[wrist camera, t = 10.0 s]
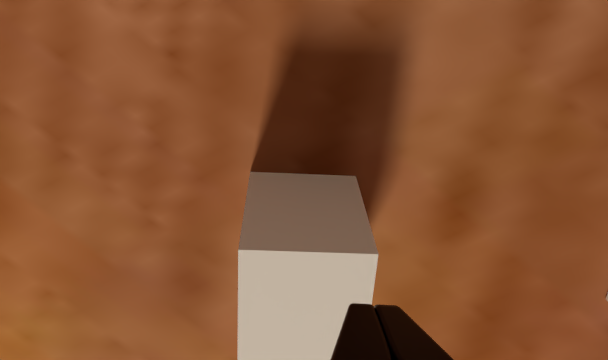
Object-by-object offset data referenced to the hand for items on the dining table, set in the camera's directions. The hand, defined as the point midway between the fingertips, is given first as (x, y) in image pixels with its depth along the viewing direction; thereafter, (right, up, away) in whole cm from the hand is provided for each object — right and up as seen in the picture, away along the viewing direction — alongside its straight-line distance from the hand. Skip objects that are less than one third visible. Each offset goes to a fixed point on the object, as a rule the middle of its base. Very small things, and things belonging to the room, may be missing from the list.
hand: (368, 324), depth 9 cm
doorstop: (-1, 0, +12) cm, 12 cm away
